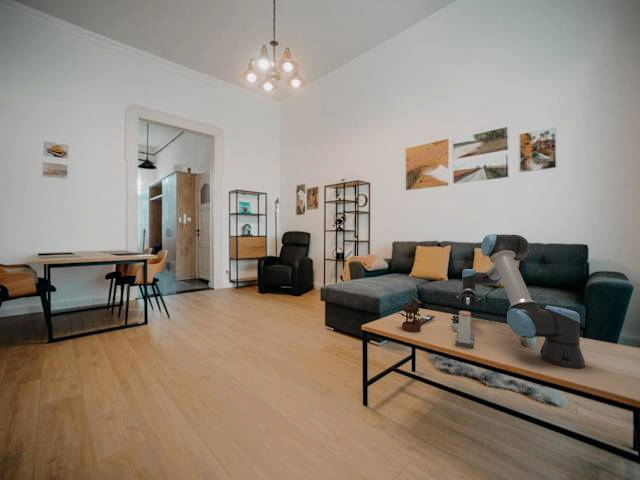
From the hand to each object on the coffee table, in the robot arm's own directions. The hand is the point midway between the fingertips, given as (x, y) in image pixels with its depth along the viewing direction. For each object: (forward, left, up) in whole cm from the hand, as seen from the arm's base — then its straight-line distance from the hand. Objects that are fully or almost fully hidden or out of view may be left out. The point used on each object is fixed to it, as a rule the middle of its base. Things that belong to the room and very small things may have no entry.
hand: (467, 301), depth 155 cm
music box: (+20, +23, -20) cm, 36 cm away
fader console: (-5, +7, -19) cm, 21 cm away
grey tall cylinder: (-10, +11, -17) cm, 23 cm away
